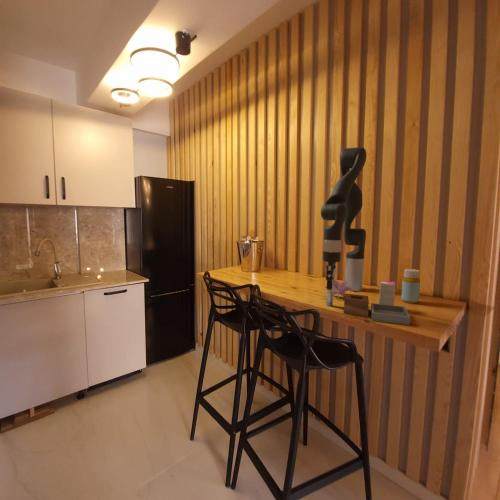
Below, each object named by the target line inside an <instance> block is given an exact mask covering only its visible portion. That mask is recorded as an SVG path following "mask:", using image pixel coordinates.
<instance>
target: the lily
mask: <svg viewBox="0 0 500 500" xmlns="http://www.w3.org/2000/svg"><path fill="white" fill-rule="evenodd" d="M346 284H347V282H345V281H342V282H339V280H336V279H335V278H334V287H333V296H334V295H337V297H338V298H337V300H338V301H340V296H342V297H343V298H345V294H346V292H349V291H352V290H354V289H353V288H351V287H349V286H346ZM325 289H327V286H326V287H325Z"/></svg>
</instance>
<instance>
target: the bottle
mask: <svg viewBox="0 0 500 500" xmlns="http://www.w3.org/2000/svg"><path fill="white" fill-rule="evenodd" d="M420 274H421V271H420V269H415V268H405V269H404V271H403V277H402V285H401V295H400V296H401V298H400V299H401V301H402V302H403V303H405V304H412V305H413V304H414V305H415V304H418V303H419V302H420V301H419V300H420V290H421V289H420V287H421V279H420Z"/></svg>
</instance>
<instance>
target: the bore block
mask: <svg viewBox="0 0 500 500" xmlns="http://www.w3.org/2000/svg"><path fill="white" fill-rule="evenodd" d="M343 298H344V300H343V314H345V315H346V314H347V315H352V316H353V315H354V316H361V317H369V305H370V304H369V301H370V300H369V295H363V294H353V293H345V297H343Z"/></svg>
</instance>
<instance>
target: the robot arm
mask: <svg viewBox="0 0 500 500" xmlns="http://www.w3.org/2000/svg"><path fill="white" fill-rule="evenodd" d="M366 161H367V151H366V149H365V147H361V146H360V147H359V146H357V147H348V148H347V147H346V148H342V150H340V154H339V167H340V173H341V177H340V178H339V179H338V180H337V182H336V183H335V185H334V187H333V190H332V193H331V194H330V196H329V197H328V198H327V200H326V201H325V202H324V203H323V205H322V206H321V210H320V217H321V219H323V220H324V221H334V222H333V224H331V225H327V226H325V227H324V231H323V244H322V262H325V263H326V262H327V264H326V266H325V270H326V271H325V280H326V287H327V288H326V290H327V289H328V290H332V281H333V279H335V278H336V273H337V272H336V271H337V265H336V263H339V262H341V260H342V258H341V257H342V231H343V240H344V244H345V245H346V246H355V247H356V246H357V248H356V249H354V250H351V251H347V252H346V255H345V275H344V277H345V278H344V282H347V284H346V286H349V287H351V288H353V289H354V290H351V291H352V292H353V291H355V292H362V291H363V289H364V288H363V287H364V268H365V251H366V249H365V247H366V239H367V231H366V229H365V228H352V227H351V226H352V223H353V222H354V220H355V218H356V217H357V216H358V214H359V213H360V212H361V210H362V207H363V191H362V189H360V187H359V185H358V184H357V183H356V180H357V179H358V177H359V175H360V173H361V172H362V170H363V168H364V166H365V164H366Z"/></svg>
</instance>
